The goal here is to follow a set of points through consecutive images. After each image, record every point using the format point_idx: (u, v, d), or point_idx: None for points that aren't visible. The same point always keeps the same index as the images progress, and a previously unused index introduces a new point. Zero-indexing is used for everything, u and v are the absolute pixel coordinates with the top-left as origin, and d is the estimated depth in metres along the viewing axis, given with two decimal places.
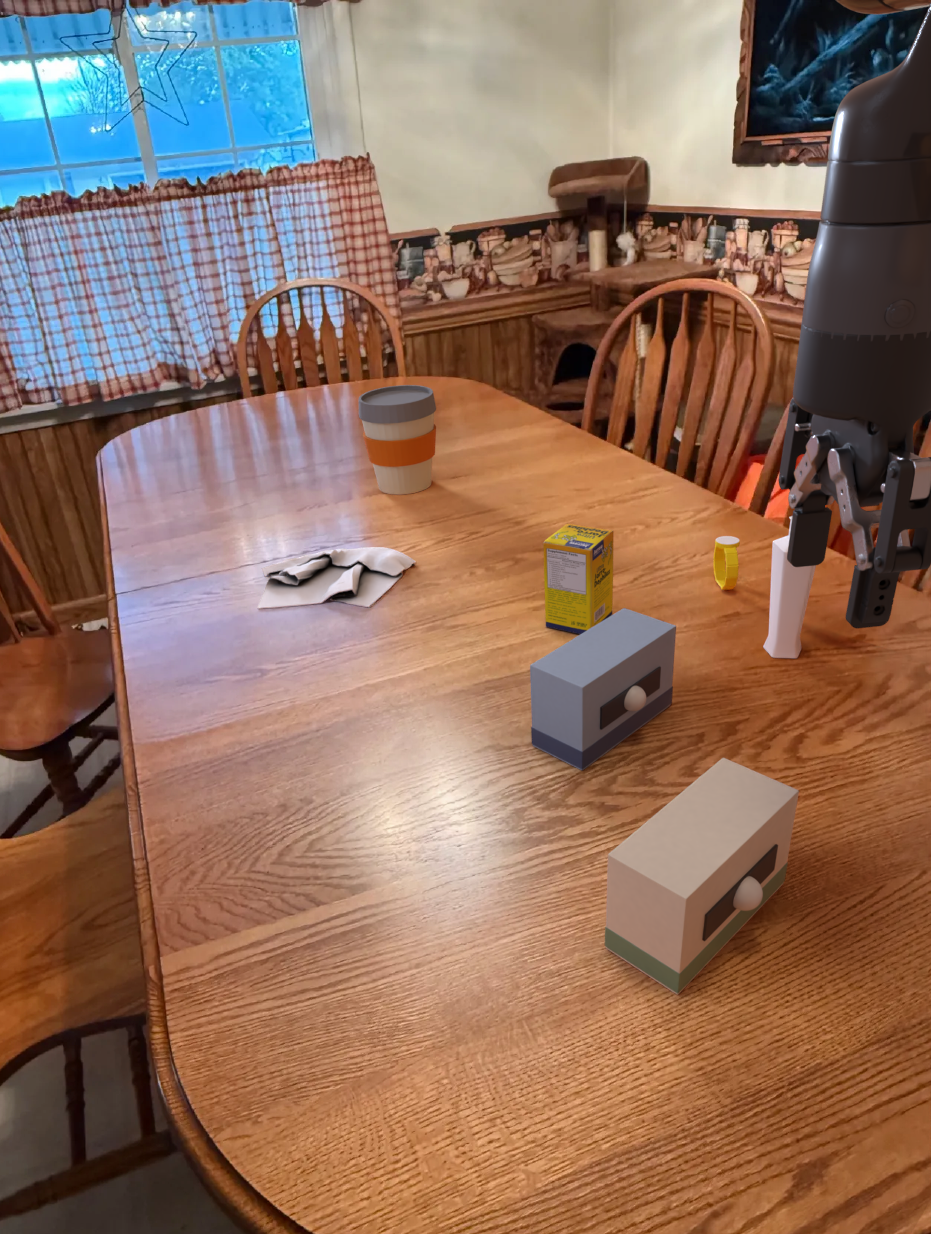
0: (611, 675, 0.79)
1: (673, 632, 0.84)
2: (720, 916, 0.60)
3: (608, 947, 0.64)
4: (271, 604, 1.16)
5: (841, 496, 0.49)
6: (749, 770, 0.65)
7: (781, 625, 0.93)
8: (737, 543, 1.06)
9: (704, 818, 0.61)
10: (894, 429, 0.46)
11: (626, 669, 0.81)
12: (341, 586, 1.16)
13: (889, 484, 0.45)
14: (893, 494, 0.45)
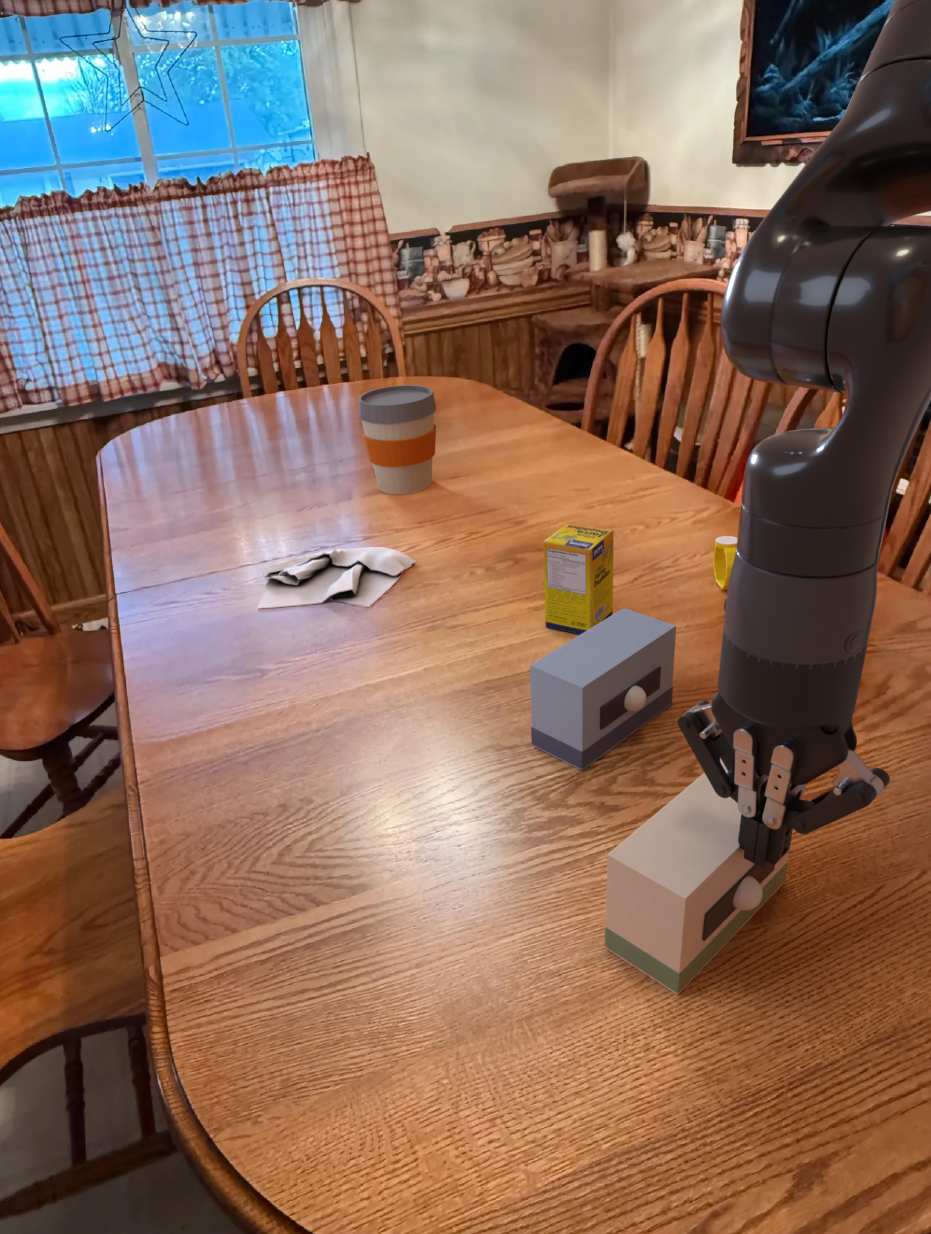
0: (611, 675, 0.79)
1: (673, 632, 0.84)
2: (720, 916, 0.60)
3: (608, 947, 0.64)
4: (271, 604, 1.16)
5: (776, 779, 0.53)
6: None
7: None
8: None
9: (703, 818, 0.61)
10: (845, 725, 0.50)
11: (626, 669, 0.81)
12: (341, 586, 1.16)
13: (848, 798, 0.50)
14: (849, 808, 0.51)
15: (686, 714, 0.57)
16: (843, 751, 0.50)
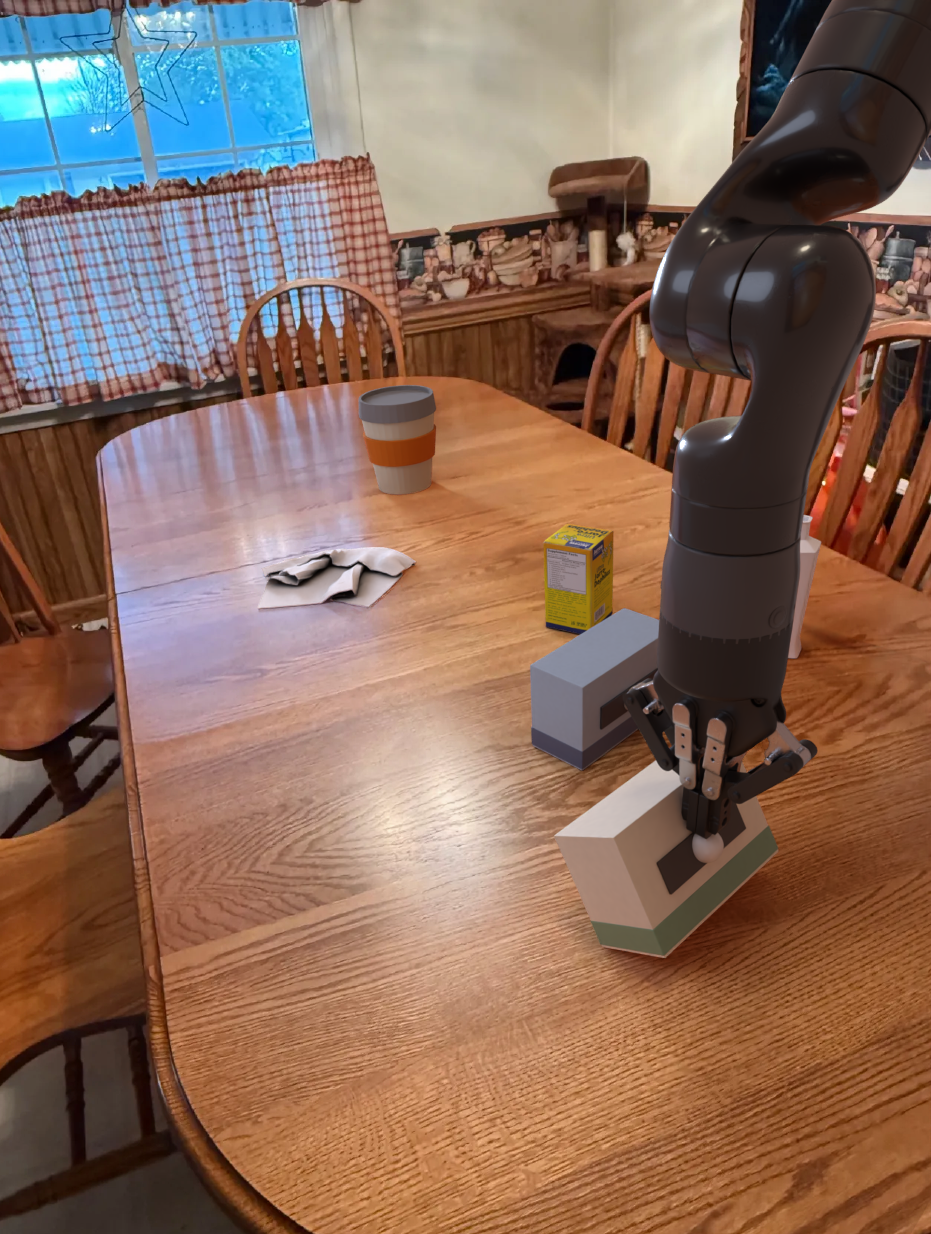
0: (611, 675, 0.79)
1: None
2: (681, 868, 0.61)
3: (603, 943, 0.64)
4: (271, 604, 1.16)
5: (712, 751, 0.56)
6: None
7: None
8: None
9: (644, 787, 0.64)
10: (774, 698, 0.52)
11: (626, 669, 0.81)
12: (341, 586, 1.16)
13: (777, 768, 0.53)
14: (779, 777, 0.53)
15: (631, 691, 0.60)
16: (772, 723, 0.53)
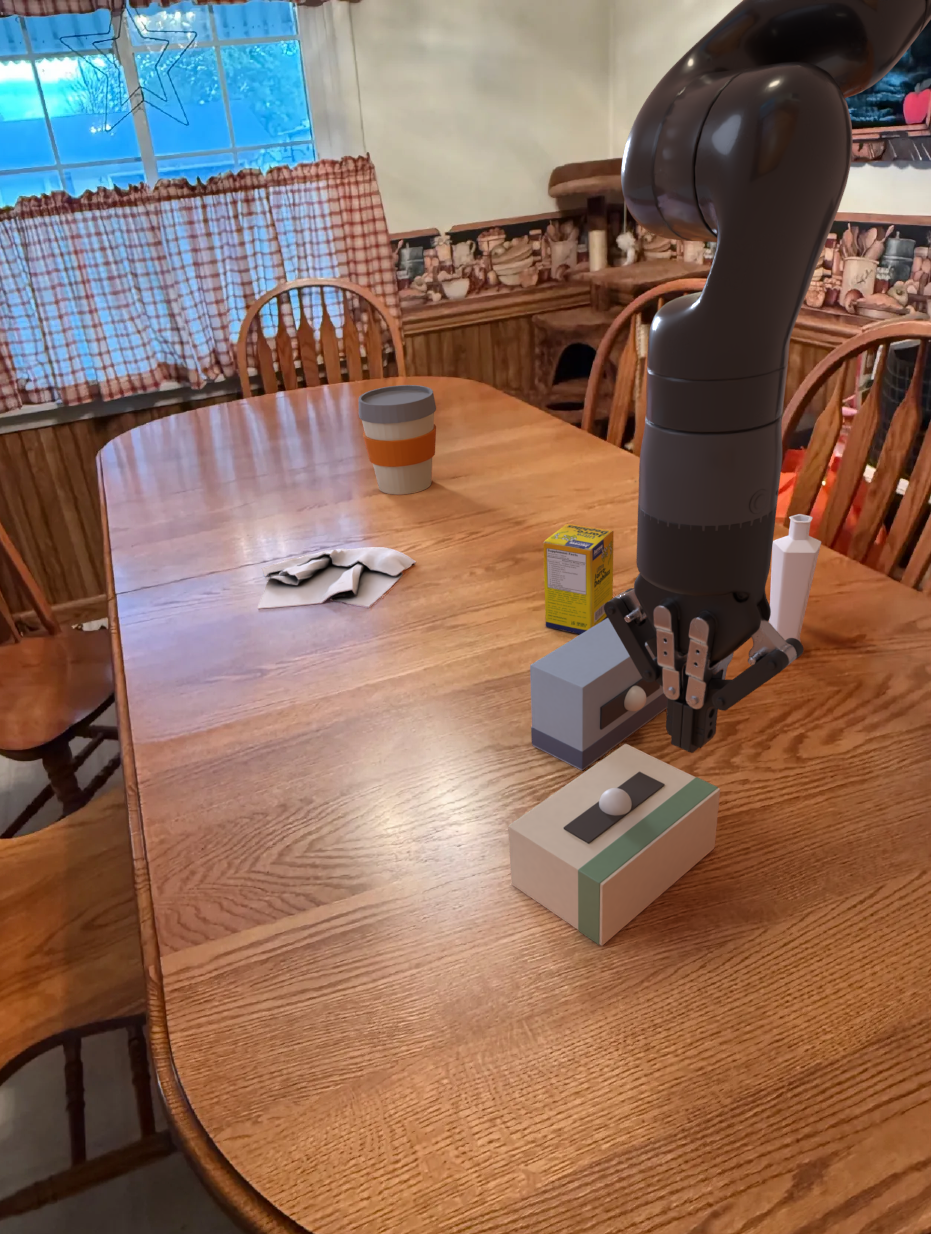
0: (611, 675, 0.79)
1: None
2: (594, 824, 0.66)
3: (597, 941, 0.64)
4: (271, 604, 1.16)
5: (695, 654, 0.54)
6: None
7: (781, 625, 0.93)
8: None
9: None
10: (757, 593, 0.50)
11: (626, 669, 0.81)
12: (341, 586, 1.16)
13: (762, 667, 0.51)
14: (764, 677, 0.51)
15: (612, 599, 0.58)
16: (755, 619, 0.51)
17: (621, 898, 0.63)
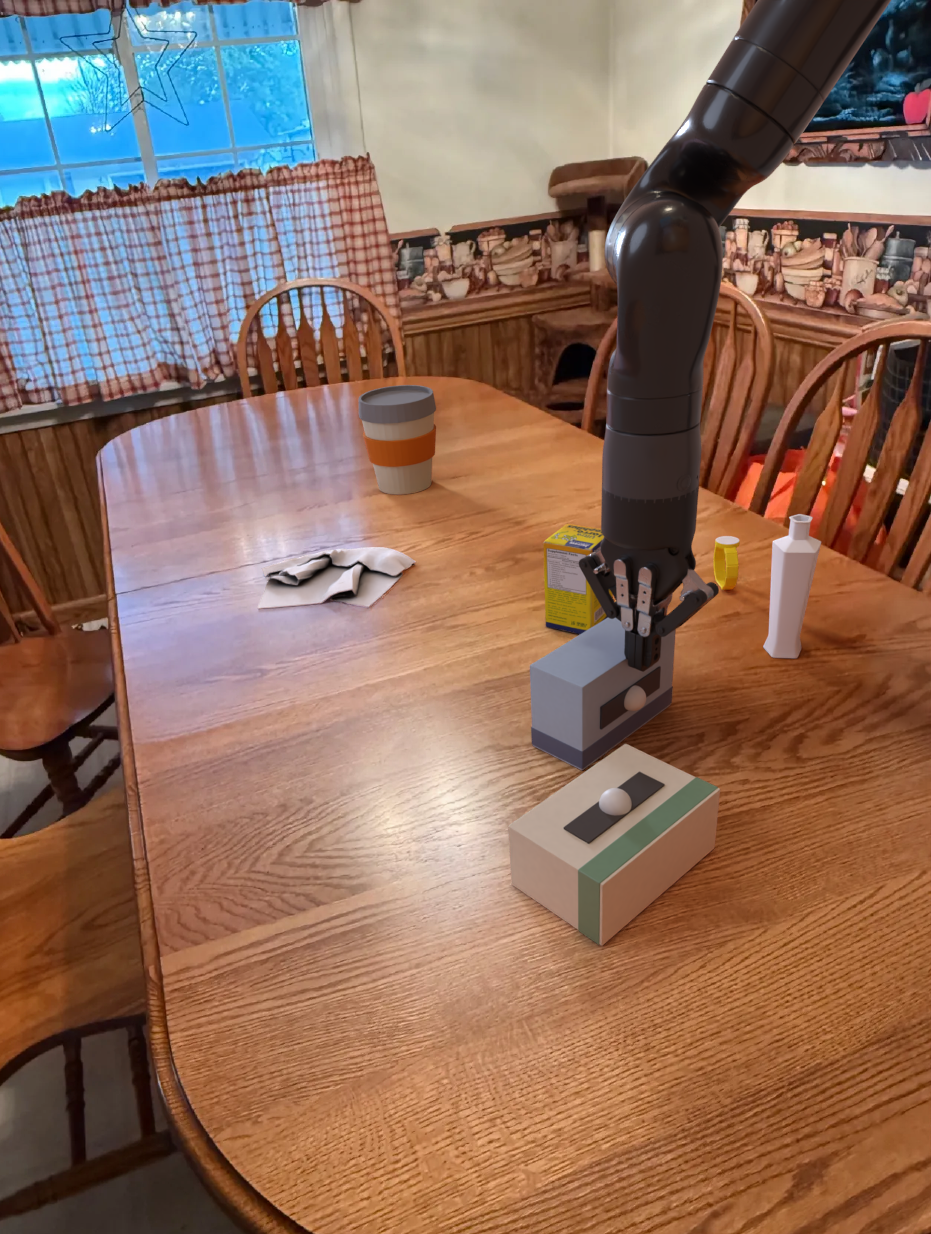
0: (611, 675, 0.79)
1: (673, 632, 0.84)
2: (594, 824, 0.66)
3: (597, 941, 0.64)
4: (271, 604, 1.16)
5: (642, 594, 0.74)
6: None
7: (781, 625, 0.93)
8: (737, 543, 1.06)
9: None
10: (685, 549, 0.71)
11: (626, 669, 0.81)
12: (341, 586, 1.16)
13: (689, 602, 0.72)
14: (690, 609, 0.72)
15: (584, 557, 0.78)
16: (684, 567, 0.71)
17: (621, 898, 0.63)
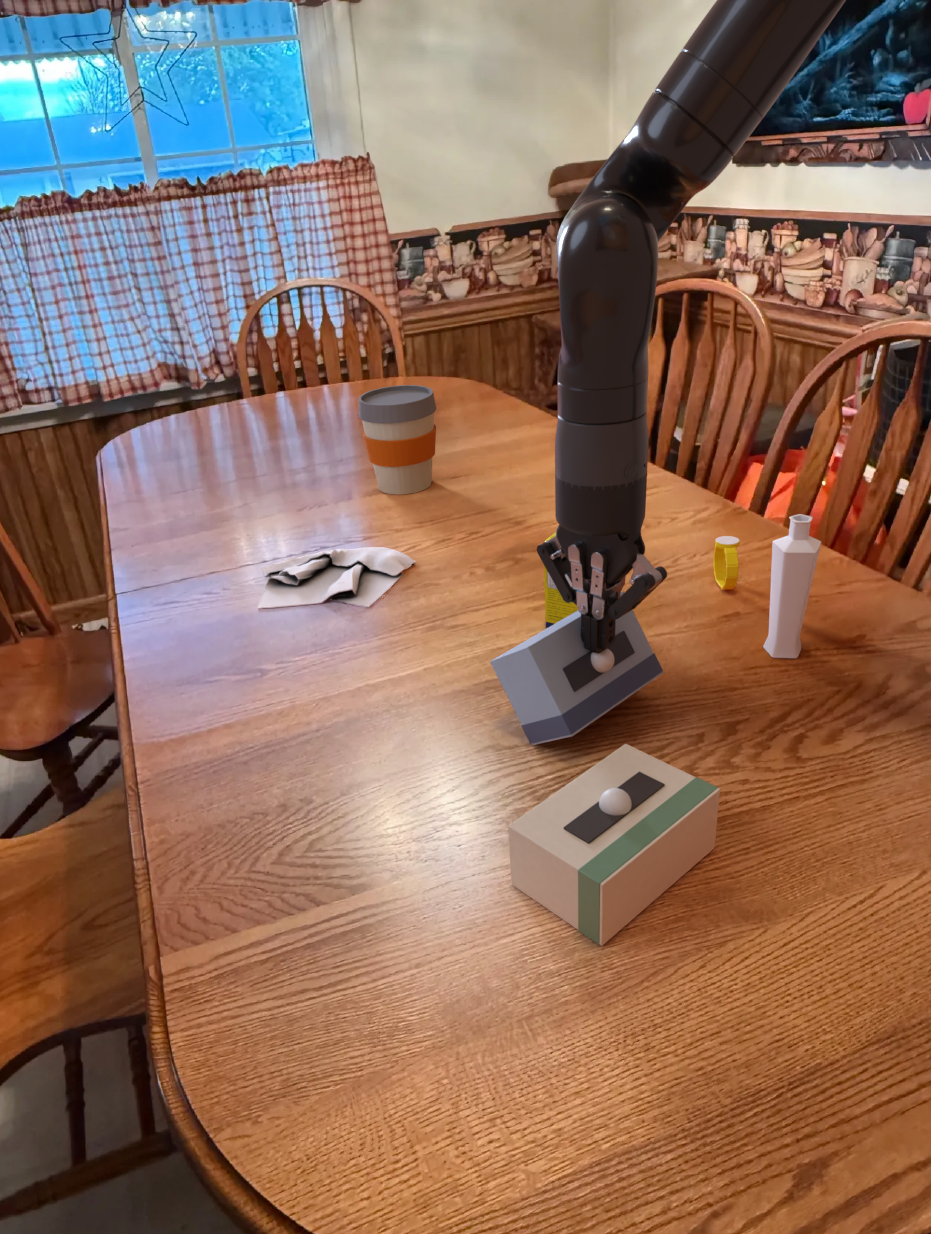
0: (561, 636, 0.82)
1: None
2: (594, 824, 0.66)
3: (597, 941, 0.64)
4: (271, 604, 1.16)
5: (595, 578, 0.77)
6: None
7: (781, 625, 0.93)
8: (737, 543, 1.06)
9: None
10: (634, 534, 0.74)
11: (578, 632, 0.83)
12: (341, 586, 1.16)
13: (638, 585, 0.75)
14: (639, 592, 0.75)
15: (542, 543, 0.82)
16: (633, 552, 0.74)
17: (621, 898, 0.63)
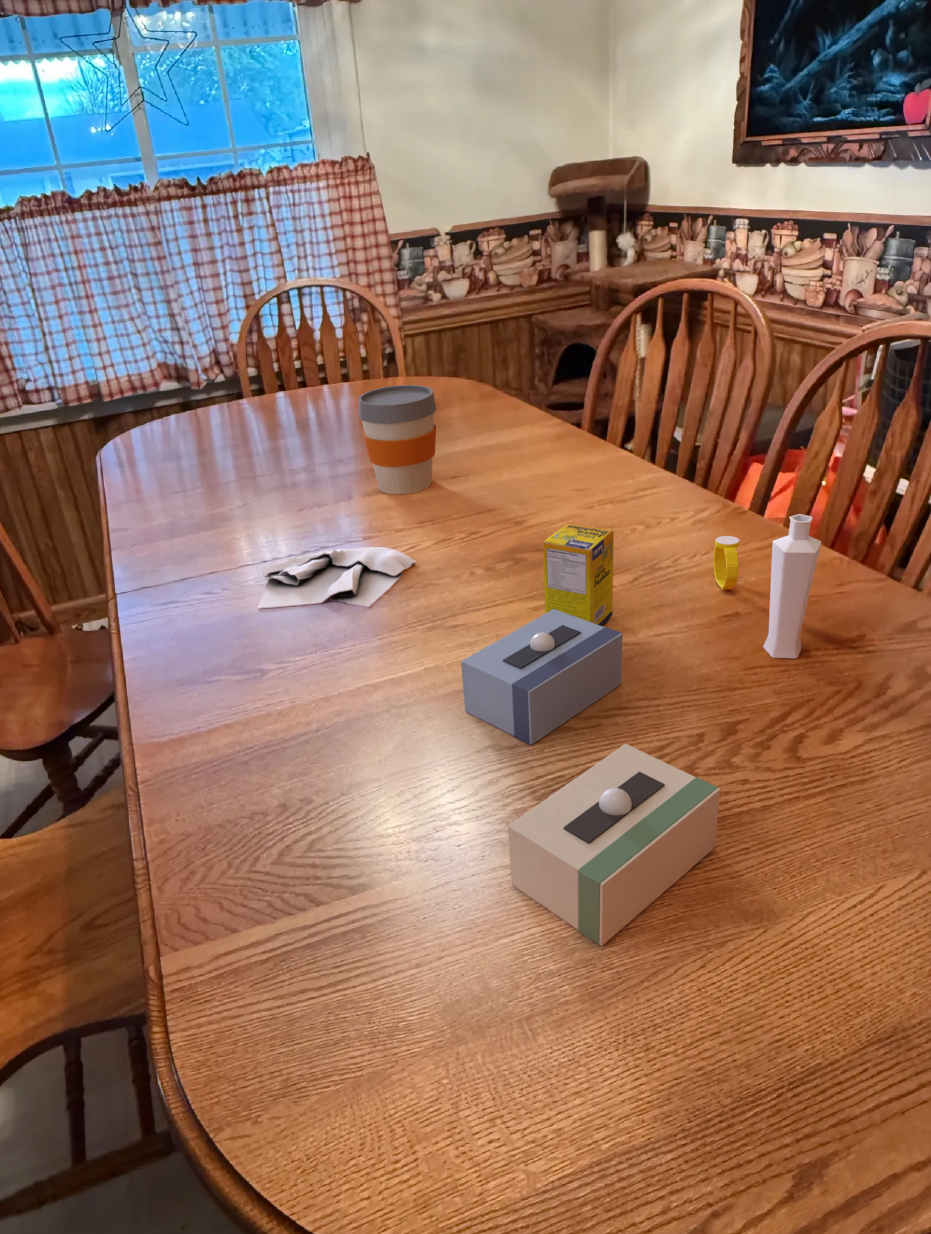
0: (495, 647, 0.90)
1: (555, 611, 0.95)
2: (594, 824, 0.66)
3: (597, 941, 0.64)
4: (271, 604, 1.16)
5: None
6: None
7: (781, 625, 0.93)
8: (737, 543, 1.06)
9: None
10: None
11: (512, 640, 0.91)
12: (341, 586, 1.16)
13: None
14: None
15: None
16: None
17: (621, 898, 0.63)
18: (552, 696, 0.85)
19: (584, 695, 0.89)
